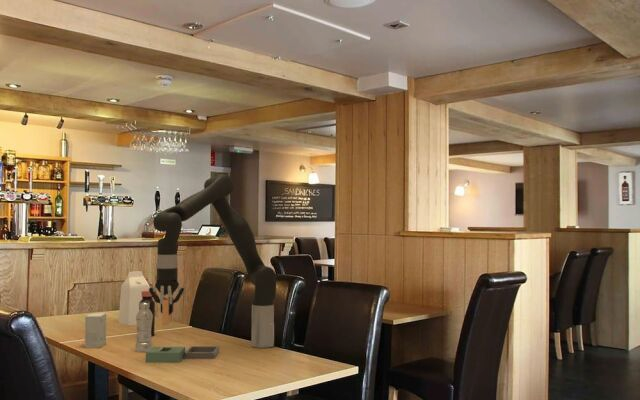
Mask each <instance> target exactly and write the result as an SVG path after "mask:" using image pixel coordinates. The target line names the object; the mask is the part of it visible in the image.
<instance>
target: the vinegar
mask: <svg viewBox="0 0 640 400" xmlns="http://www.w3.org/2000/svg"><path fill="white" fill-rule="evenodd" d="M141 302H149V306H150V307H149V310H150V311H151V312H152V315H153V318H152V326H151V337H153V336H155V323H156V321H155V318H156V317H155V314H156V310H155V309H156V308H155V307H156V302H155V300H154V299H153V297H152V295H151V293H150V292H149V291H142V300H141V301H140V302H139V310H140V303H141Z"/></svg>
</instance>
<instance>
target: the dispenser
mask: <svg viewBox="0 0 640 400" xmlns="http://www.w3.org/2000/svg"><path fill="white" fill-rule="evenodd" d="M185 352H186V346H163V345H162V346H153V347H152V348H151V349H150V350H148V351H147V352H145V363H153V364H154V363H161V364H163V363H164V364H165V363H181V362H182V360H183V359H184V353H185Z"/></svg>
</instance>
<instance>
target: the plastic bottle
mask: <svg viewBox="0 0 640 400" xmlns="http://www.w3.org/2000/svg"><path fill="white" fill-rule="evenodd" d="M149 307H150V306H149V302H141V303H140V310H139V311H138V313H137V315H136V321H137V325H136V333H137V334H136V342H135V352H137V353H146V352H147V351H148V350H150V349H151V348H152V347H154V346H153V339H152V336H151V326H152V318H153V315H152V312H151V311H150V310H149Z"/></svg>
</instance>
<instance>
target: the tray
mask: <svg viewBox="0 0 640 400" xmlns="http://www.w3.org/2000/svg"><path fill="white" fill-rule="evenodd" d="M219 352H220V346H215V345H213V346H205V345H204V346H203V345H200V346H197V345H194V346H192V345H191V346H190V347H188V349H187V350H185V353H184V358H183V359H184V360H186V359H187V360H188V359H189V360H193V359H194V360H196V359H197V360H199V359H200V360H203V359H205V360H207V359H208V360H214V359H215V358H216V357H217V355H218V354H219Z"/></svg>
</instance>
